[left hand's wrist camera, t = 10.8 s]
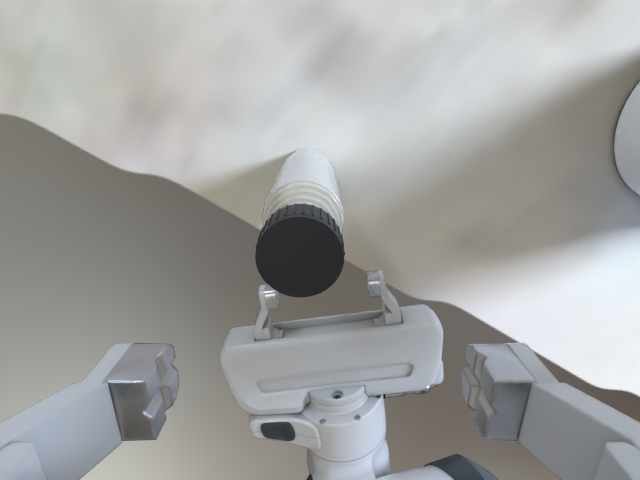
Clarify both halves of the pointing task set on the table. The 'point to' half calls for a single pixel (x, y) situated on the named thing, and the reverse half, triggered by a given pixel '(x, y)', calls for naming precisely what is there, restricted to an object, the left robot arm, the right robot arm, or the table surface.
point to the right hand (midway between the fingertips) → (320, 280)
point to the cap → (300, 250)
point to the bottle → (306, 185)
